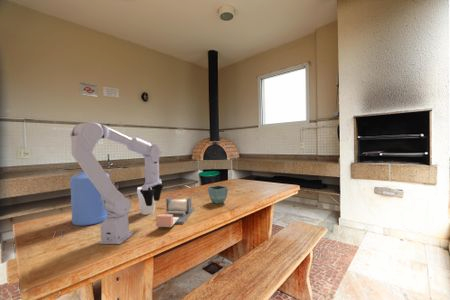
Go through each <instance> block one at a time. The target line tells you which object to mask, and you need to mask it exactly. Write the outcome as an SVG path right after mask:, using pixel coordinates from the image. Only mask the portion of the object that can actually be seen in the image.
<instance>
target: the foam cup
mask: <svg viewBox="0 0 450 300" xmlns="http://www.w3.org/2000/svg"><path fill="white" fill-rule="evenodd" d="M141 189H142V186H138V187H137V189H136V192H137V197H138V202H139V208H140V213H141V215H143V216H145V215H147V216H148V215H152V214H154V213H155V208H156V201H154V197H153V201H152V206H146V203H145V200H144V197H143V195H142V193H141V192H140V190H141ZM150 189H152V188H150Z"/></svg>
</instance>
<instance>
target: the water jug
mask: <svg viewBox="0 0 450 300" xmlns="http://www.w3.org/2000/svg"><path fill="white" fill-rule="evenodd" d="M105 173H106V174H107V176H108V177H109V179H110V180H111V178H110V174H109V173H107V172H105ZM69 180H70V181H69V187H70V206H71V224H72V225H74V226H77V227H79V226H80V227H81V226H92V225H96V224H99V223H103V222H104V221H105V219H106V217H107V210H105V208H104V206H103V201H102V199H101V194H100V193H99V192H98V190H97V189H96V187H95V186H94V185H93V183H92V182H91V181H90V179H89V178H88V176H87V175H86V174H85V172H84V171H83V170H82V171H81V172H79V173H76V174H75V175H73V176H71V177H70V179H69Z"/></svg>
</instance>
